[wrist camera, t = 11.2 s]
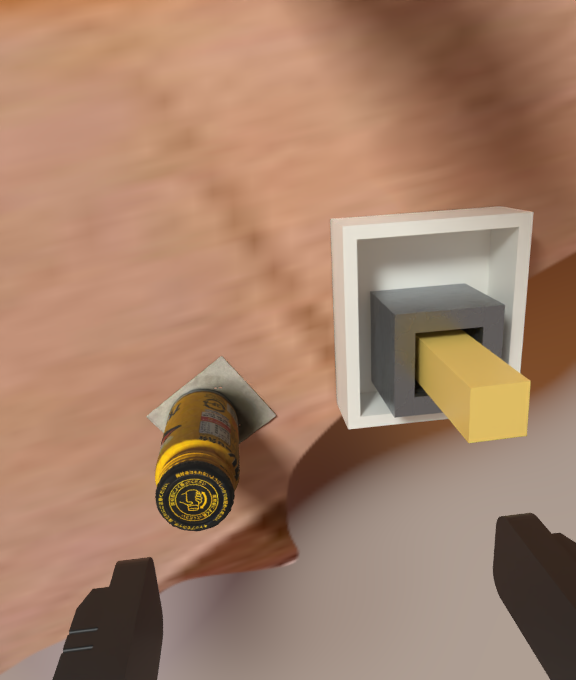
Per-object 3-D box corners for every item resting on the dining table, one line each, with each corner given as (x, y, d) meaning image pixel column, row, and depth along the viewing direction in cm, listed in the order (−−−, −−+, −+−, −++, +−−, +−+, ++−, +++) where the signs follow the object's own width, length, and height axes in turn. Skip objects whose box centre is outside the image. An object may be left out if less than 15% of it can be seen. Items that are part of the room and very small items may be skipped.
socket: (370, 291, 45) (394, 314, 38) (464, 283, 45) (505, 304, 39) (371, 381, 47) (394, 417, 40) (460, 372, 48) (497, 406, 41)
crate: (330, 218, 43) (342, 226, 38) (501, 206, 44) (533, 211, 39) (336, 402, 48) (348, 429, 43) (489, 387, 49) (516, 411, 44)
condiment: (146, 415, 47) (120, 498, 35) (221, 355, 46) (218, 420, 34) (203, 470, 49) (195, 564, 38) (276, 413, 48) (290, 493, 37)
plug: (406, 326, 43) (470, 388, 31) (451, 321, 43) (530, 381, 32) (406, 369, 44) (468, 443, 32) (450, 364, 44) (526, 435, 33)
